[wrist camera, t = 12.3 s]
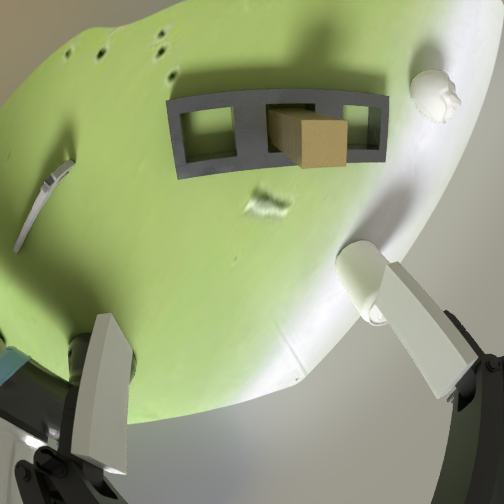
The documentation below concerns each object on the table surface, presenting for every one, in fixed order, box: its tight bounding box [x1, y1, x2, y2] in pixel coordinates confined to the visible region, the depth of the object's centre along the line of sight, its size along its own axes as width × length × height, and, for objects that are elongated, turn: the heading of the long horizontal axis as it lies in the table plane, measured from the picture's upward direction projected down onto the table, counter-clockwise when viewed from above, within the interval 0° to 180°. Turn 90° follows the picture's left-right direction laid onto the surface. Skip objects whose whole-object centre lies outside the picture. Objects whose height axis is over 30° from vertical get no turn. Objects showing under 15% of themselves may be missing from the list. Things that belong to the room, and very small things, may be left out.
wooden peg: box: [267, 108, 348, 169], centre depth 25 cm, size 4×4×12 cm
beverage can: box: [334, 240, 390, 326], centre depth 38 cm, size 8×8×12 cm
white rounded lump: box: [410, 70, 461, 124], centre depth 25 cm, size 8×8×8 cm
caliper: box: [13, 159, 75, 254], centre depth 27 cm, size 20×1×6 cm, turn 125°
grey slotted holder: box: [166, 89, 389, 180], centre depth 29 cm, size 9×26×3 cm, turn 94°
